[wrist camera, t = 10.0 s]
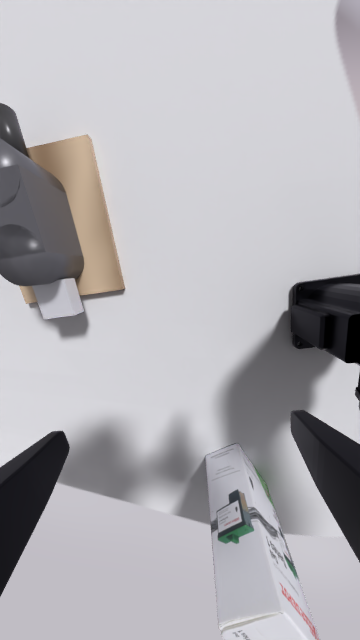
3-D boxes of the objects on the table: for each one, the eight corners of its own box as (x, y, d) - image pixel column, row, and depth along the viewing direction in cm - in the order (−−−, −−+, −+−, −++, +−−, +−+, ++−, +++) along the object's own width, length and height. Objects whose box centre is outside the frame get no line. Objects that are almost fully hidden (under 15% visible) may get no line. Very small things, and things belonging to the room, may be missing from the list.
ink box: (268, 485, 24) (339, 680, 13) (234, 497, 25) (272, 689, 14) (237, 440, 22) (288, 620, 11) (202, 455, 23) (215, 636, 12)
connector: (47, 123, 14) (-17, 57, 10) (97, 307, 18) (67, 320, 13) (-1, 134, 14) (-82, 75, 10) (59, 312, 18) (18, 326, 14)
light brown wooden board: (91, 139, 15) (87, 134, 14) (125, 288, 18) (122, 289, 17) (-20, 164, 15) (-28, 160, 15) (31, 302, 19) (26, 303, 18)
